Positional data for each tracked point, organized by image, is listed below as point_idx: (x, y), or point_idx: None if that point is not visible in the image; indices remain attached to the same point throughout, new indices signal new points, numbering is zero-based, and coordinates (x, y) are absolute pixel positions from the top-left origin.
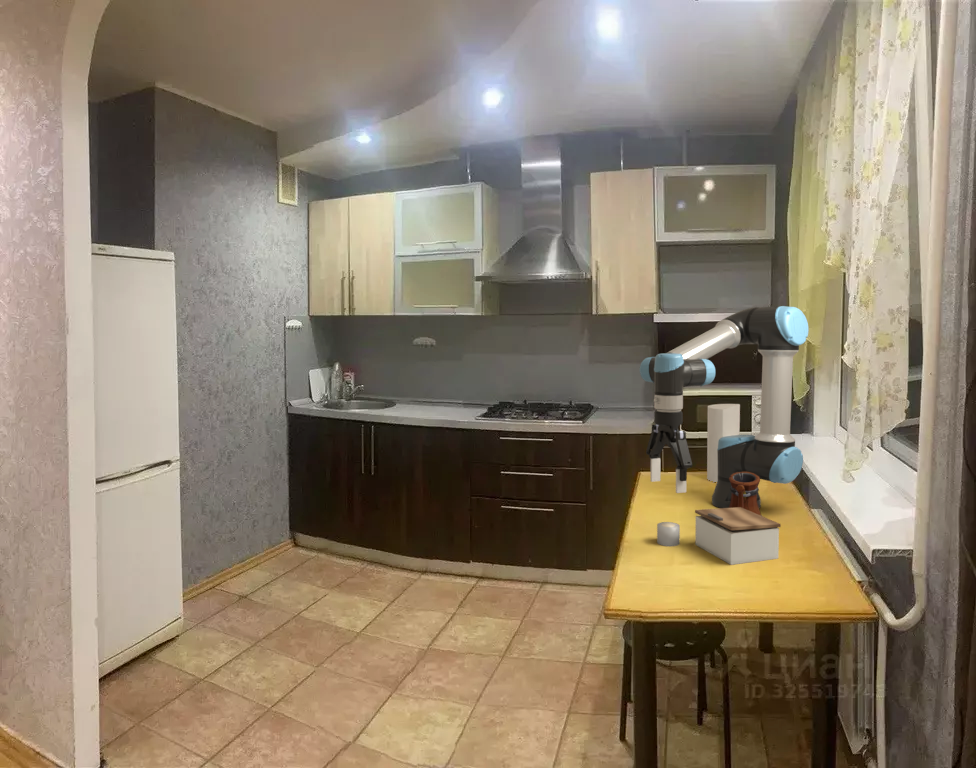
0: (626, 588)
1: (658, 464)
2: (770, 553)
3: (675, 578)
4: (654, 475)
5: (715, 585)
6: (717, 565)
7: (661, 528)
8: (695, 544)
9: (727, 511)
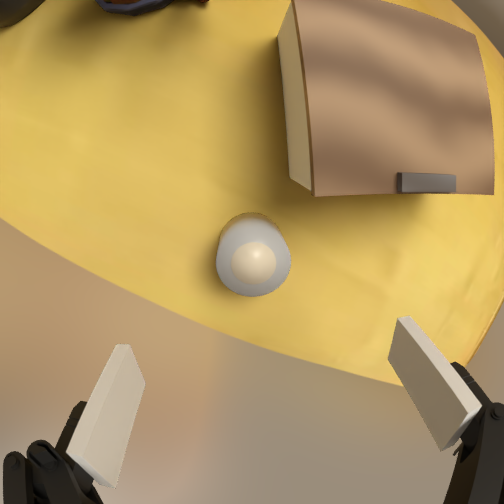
0: None
1: (102, 430)
2: None
3: (431, 310)
4: (133, 396)
5: (473, 260)
6: (423, 205)
7: (269, 291)
8: (289, 177)
9: (355, 70)
